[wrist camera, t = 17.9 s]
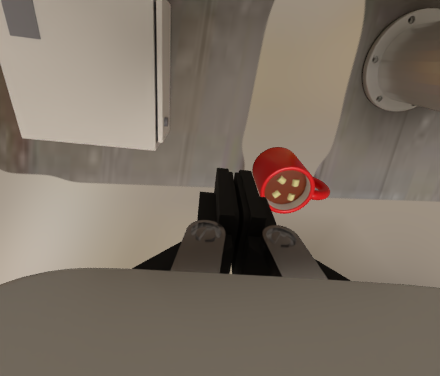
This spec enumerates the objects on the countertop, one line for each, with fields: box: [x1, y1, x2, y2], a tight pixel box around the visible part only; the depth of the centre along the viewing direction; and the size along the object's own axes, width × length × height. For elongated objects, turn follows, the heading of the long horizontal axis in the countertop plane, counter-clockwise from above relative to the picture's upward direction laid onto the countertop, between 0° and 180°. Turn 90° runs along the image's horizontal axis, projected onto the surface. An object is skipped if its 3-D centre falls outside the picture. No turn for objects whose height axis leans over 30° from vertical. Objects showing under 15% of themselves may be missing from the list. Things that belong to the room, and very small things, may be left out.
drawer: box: [154, 0, 171, 143], centre depth 30 cm, size 17×16×6 cm
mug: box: [253, 147, 330, 214], centre depth 38 cm, size 8×12×8 cm, turn 79°
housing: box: [0, 0, 160, 151], centre depth 30 cm, size 17×18×7 cm
